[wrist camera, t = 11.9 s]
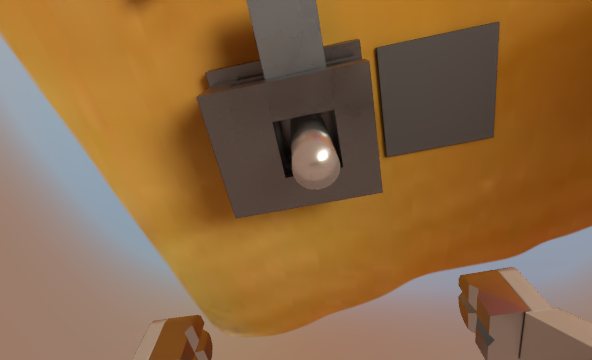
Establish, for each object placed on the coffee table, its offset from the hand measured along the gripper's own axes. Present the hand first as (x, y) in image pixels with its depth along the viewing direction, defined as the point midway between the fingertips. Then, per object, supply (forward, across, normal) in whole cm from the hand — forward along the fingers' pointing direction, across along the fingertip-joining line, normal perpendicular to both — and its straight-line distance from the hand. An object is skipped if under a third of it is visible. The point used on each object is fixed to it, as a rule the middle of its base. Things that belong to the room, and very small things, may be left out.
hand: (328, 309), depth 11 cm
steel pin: (+21, 0, 0) cm, 21 cm away
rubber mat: (+23, -12, 0) cm, 26 cm away
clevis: (+23, +1, -2) cm, 23 cm away
